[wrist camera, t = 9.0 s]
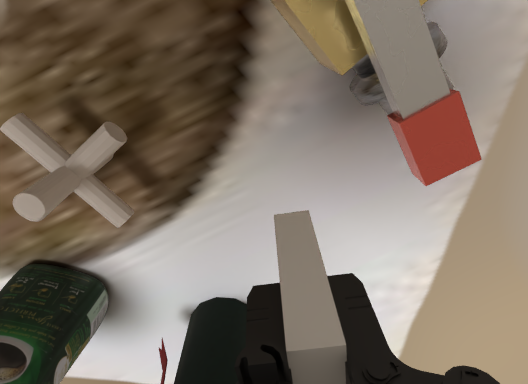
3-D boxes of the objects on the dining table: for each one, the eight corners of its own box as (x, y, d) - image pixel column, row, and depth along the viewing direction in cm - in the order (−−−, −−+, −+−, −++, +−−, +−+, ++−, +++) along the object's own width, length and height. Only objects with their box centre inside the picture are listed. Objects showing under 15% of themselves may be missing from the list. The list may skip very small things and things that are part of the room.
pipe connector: (19, 143, 28) (-96, 196, 19) (92, 65, 25) (-2, 83, 16) (111, 220, 31) (51, 296, 22) (184, 159, 29) (148, 217, 20)
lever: (283, -78, 14) (286, -93, 12) (378, -149, 13) (394, -175, 11) (401, 179, 19) (413, 192, 18) (474, 142, 18) (495, 152, 17)
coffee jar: (19, 306, 36) (-188, 538, 20) (21, 251, 33) (-227, 474, 16) (107, 326, 38) (-17, 559, 21) (117, 276, 34) (-21, 504, 18)
